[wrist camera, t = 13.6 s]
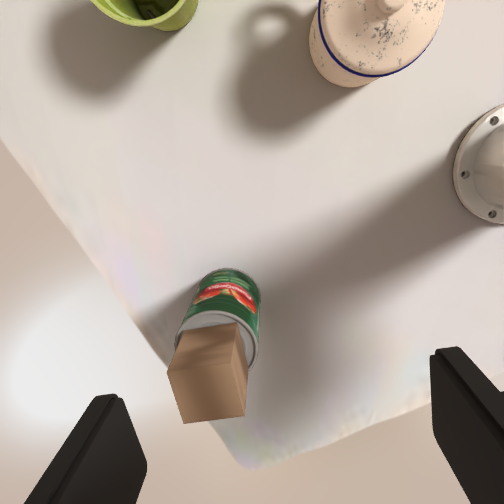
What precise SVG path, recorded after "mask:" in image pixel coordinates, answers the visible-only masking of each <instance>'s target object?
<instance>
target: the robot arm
mask: <svg viewBox="0 0 504 504" xmlns="http://www.w3.org/2000/svg"><path fill="white" fill-rule="evenodd" d="M490 119H491V122H490ZM462 172H463V175H462V176H461V173H462ZM453 180H454V186H455V190H456V193H457V195H458V197H459V199H460V201H461V202H462V203H463V205H464V206H465V207H466V208H467V209H468V210H469V211H470V212H471V213H473V214H474V215H476V216H478V217H480V218H482V219H484V220H487V221H490V222H494V223H499V224H504V104H502V105H499V106H498V107H496V108H494V109H493V110H491V111H489V112H488V113H486V114H485V115H484V116H483V117H482V118H481V119H479V120H478V121H477V122H476V123H475V124H474V125H473V127H472V128H471V129H470V130H469V131H468V133H467V134H466V136H465V137H464V139H463V141H462V142H461V144H460V147H459V149H458V151H457V154H456V157H455V162H454V166H453ZM430 381H431V403H432V423H433V424H432V425H433V432H434V436H435V438H436V441H437V443H438V445H439V447H440V448H441V450H442V452H443V454H444V456H445V457H446V459H447V461H448V463H449V464H450V466H451V468H452V470H453V472H454V474H455V476H456V477H457V479H458V481H459V483H460V485H461V486H462V488H463V490H464V491H465V494H466V495H467V497H468V499H469V501H470V503H471V504H504V391H503V392H500V391H499V390H498V389H497V388H496V387H495V386H494V385H493V384H492V382H491V381H490V380H489V379H488V378H487V377H486V376H485V375H484V374H483V372H482V371H481V370H480V369H479V368H478V367H477V366H476V365H475V364H474V363H473V361H472V360H471V359H470V358H469V357H468V356H467V355H466V354H465V353H464V352H463V350H462V349H461V348H459V347H457V346H456V347H448V348H441V349H437V350H436V351H435V355H431V356H430ZM146 473H147V461H146V458H145V456H144V453H143V450H142V448H141V445H140V443H139V440H138V437H137V435H136V432H135V430H134V427H133V424H132V422H131V419H130V416H129V414H128V411H127V409H126V406H125V403H124V401H123V399H122V398H118V396H117V395H116V394H107V395H100V396H96V397H95V398H94V399H93V400H92V402H91V403H90V404H89V406H88V407H87V409H86V411H85V412H84V413H83V415H82V417H81V418H80V420H79V421H78V423H77V424H76V426H75V427H74V429H73V430H72V432H71V433H70V435H69V436H68V438H67V439H66V441H65V442H64V444H63V445H62V447H61V448H60V450H59V451H58V453H57V454H56V456H55V457H54V459H53V461H52V462H51V463H50V465H49V466H48V468H47V470H46V471H45V472H44V474H43V475H42V477H41V479H40V480H39V482H38V483H37V485H36V486H35V488H34V489H33V491H32V492H31V494H30V495H29V497H28V498H27V500H26V501H25V503H24V504H136V501H137V498H138V495H139V493H140V490H141V487H142V485H143V482H144V479H145V476H146Z"/></svg>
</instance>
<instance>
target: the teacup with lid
mask: <svg viewBox="0 0 504 504" xmlns="http://www.w3.org/2000/svg"><path fill="white" fill-rule="evenodd" d="M444 4H445V0H319V3H318V8H317V11H316V13H315V16H314V18H313V21H312V24H311V28H310V34H309V48H310V54H311V57H312V60H313V63H314V65H315V67H316V68H317V70H318V71H319V72H320V74H321V75H322V76H323V77H324V78H325V79H327V80H328V81H330V82H331V83H333V84H335V85H338V86H342V87H358V86H362V85H365V84H368V83H370V82H372V81H374V80H376V79H378V78H380V77H383V76H388V75H391V74H394V73H396V72H399V71H400V70H402V69H404V68H406V67H407V66H409V65H410V64H411V63H413V62H414V61H415V60H416V59H417V58H418V57H419V56H420V55H421V54H422V53H423V52H424V51H425V50H426V48H427V47H428V46H429V44H430V42H431V41H432V39H433V37H434V36H435V34H436V31H437V29H438V27H439V24H440V21H441V18H442V14H443V10H444Z"/></svg>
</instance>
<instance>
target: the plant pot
mask: <svg viewBox="0 0 504 504" xmlns="http://www.w3.org/2000/svg"><path fill="white" fill-rule="evenodd" d="M91 2H92V3H93V4H94V5H95V6H96V7H97V8H98V9H99V10H100V11H102V12H103V13H104V14H106V15H107V16H109V17H110V18H112V19H114V20H116V21H118V22H120V23H123V24H126V25H130V26H136V27H148V26H152V27H154V28H156V29H159V30H163V31H172V30H177V29H180V28H182V27H184V26H185V25H186V24H187V23H188V22H189V21H190V20H191V19H192V17H193V15H194V13H195V11H196V8H197V5H198V0H91ZM147 10H150V12H151V13H152V14H153V15H154V16H155V17H157V18H155V19H152V18H151V17H150V16H149V15H148V13H147Z"/></svg>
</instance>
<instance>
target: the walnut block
mask: <svg viewBox="0 0 504 504" xmlns="http://www.w3.org/2000/svg"><path fill="white" fill-rule="evenodd" d="M167 375H168V378H169V381H170V384H171V387H172V390H173V393H174V396H175V399H176V402H177V405H178V408H179V411H180V414H181V417H182V420H183V423H184V424H186V423H194V422H202V421H210V420H218V419H225V418H233V417H241V416H245V403H246V391H247V379H248V364H247V360H246V356H245V352H244V348H243V343H242V339H241V335H240V331H239V327H238V323H237V322H235V323H229V324H222V325H216V326H209V327H203V328H197V329H190V330H185V331H184V333H183V335H182V338H181V340H180V342H179V345H178V347H177V349H176V352H175V354H174V356H173V359H172V361H171V364H170V366H169V368H168V371H167Z"/></svg>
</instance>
